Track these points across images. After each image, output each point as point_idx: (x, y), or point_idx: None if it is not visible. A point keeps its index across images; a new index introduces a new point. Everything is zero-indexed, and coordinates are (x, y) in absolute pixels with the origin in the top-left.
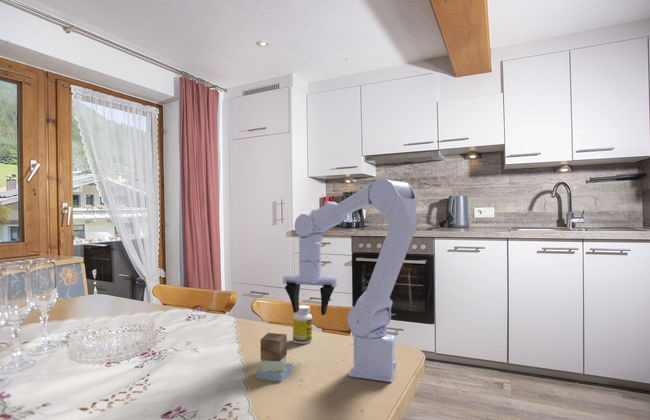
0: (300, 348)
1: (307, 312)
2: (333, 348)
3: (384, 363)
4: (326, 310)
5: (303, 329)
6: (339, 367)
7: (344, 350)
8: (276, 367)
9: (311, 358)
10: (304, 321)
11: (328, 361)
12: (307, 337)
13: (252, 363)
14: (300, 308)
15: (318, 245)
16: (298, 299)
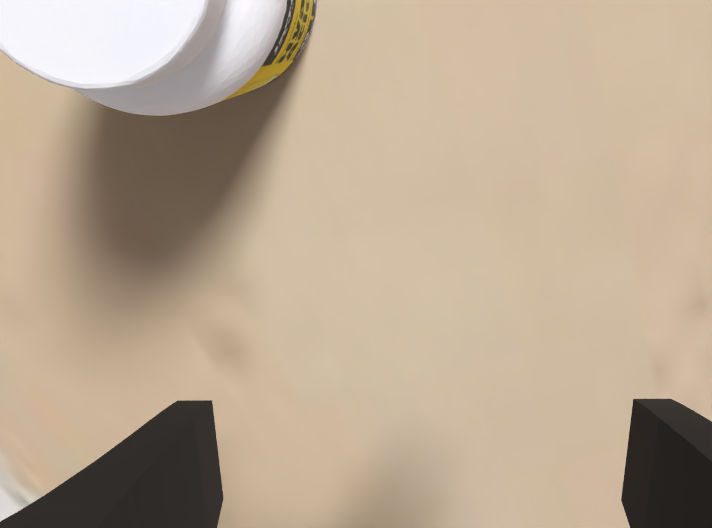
0: (292, 183)
1: (220, 12)
2: (575, 84)
3: None
4: (697, 416)
5: (246, 90)
6: None
7: (685, 100)
8: None
9: (454, 347)
10: (235, 91)
11: (593, 360)
12: (296, 53)
13: None
14: (100, 87)
15: None
16: (138, 497)
